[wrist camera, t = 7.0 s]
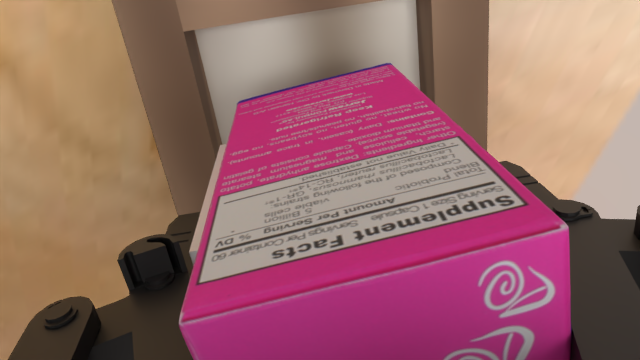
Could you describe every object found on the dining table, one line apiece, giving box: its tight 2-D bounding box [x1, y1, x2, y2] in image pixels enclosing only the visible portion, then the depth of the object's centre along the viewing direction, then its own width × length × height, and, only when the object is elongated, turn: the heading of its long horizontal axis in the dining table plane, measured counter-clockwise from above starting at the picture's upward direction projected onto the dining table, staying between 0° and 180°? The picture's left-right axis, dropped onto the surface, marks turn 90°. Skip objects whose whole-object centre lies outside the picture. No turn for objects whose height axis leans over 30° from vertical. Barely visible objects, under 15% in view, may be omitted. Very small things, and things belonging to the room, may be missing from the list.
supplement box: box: [179, 63, 572, 360], centre depth 13 cm, size 6×6×12 cm
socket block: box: [112, 0, 489, 216], centre depth 22 cm, size 14×14×3 cm
